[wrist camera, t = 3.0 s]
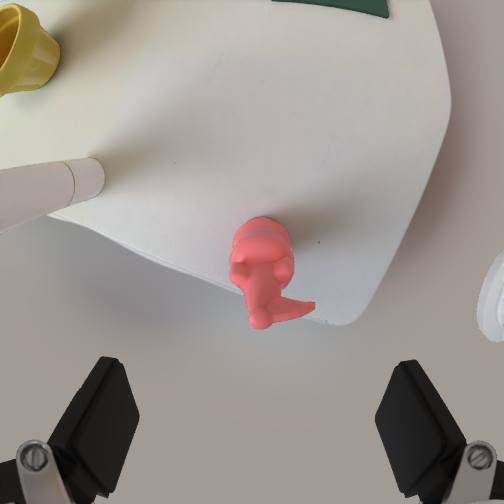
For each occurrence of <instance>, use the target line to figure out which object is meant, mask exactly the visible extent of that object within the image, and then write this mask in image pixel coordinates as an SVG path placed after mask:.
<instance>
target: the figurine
mask: <svg viewBox="0 0 504 504" xmlns="http://www.w3.org/2000/svg"><path fill="white" fill-rule="evenodd" d="M293 274H294V256H293V253H292V251H291V242H290V238H289V235H288V233H287V232H286V230H285V229H284V228H283V227H282V226H281V225H280V224H278V223H277V222H275V221H273V220H271V219H269V218H266V217H256V218H253V219H251V220H250V221H248V222H247V223H245V224H244V225H242V226H241V227H240V228H239V229H238V231H237V232H236V234H235V236H234V239H233V244H232V252H231V255H230V260H229V278H230V280H231V281H232V282H233V283H234V284H235V285H237V286H238V287H239V288H240V289H241V290H242V291H244V297H245V303H246V306H247V309H248V312H249V316H248V321H249V324H250V326H251V327H252V328H254V329H256V330H263V329H266V328H268V327H269V326H271V325H272V323H275V322H281V321H286V320H291V319H295V318H298V317H301V316H304V315H306V314H308V313H309V312H311V311H313V310H314V309H315V302H302V301H297V300H293V299H289V298H285V297H281V291H282V290H283V289H284V288H285V287H286V286H287V285H288V284H289V282H290V280H291V278H292V276H293Z"/></svg>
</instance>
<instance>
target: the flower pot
mask: <svg viewBox="0 0 504 504" xmlns="http://www.w3.org/2000/svg"><path fill="white" fill-rule="evenodd" d="M59 59H60V46H59V44H58V43H57V42H56V41H55V40H54V39H53V38H52V37H51V36H50V35H49V34H48V33H47V32H46V31H45V30H44V29H43V28H42V27H41V26H40V22H39V19H38V17H37V15H36V14H35V13H33V12H32V11H30V10H29V9H27V8H25V7H23V6H20V5H18V4H7V5H5V6H3V7H1V8H0V97H2V96H3V95H5V94H7V93H14V92H21V91H30V90H36V89H38V88H40V87H42V86H43V85H44V84H45V83H47V81H48V80H49V79H50V78H51V77H52V75H53V74H54V72H55V70H56V68H57V66H58V63H59Z"/></svg>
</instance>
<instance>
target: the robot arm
mask: <svg viewBox="0 0 504 504" xmlns="http://www.w3.org/2000/svg"><path fill="white" fill-rule="evenodd" d="M496 318H497V322H498V324H499V325H500V326H501V327H502V328H503V329H504V285H503V287H502V289H501V292H500V295H499V298H498V302H497V308H496ZM138 422H139V411H138V409H137V406H136V403H135V400H134V397H133V394H132V391H131V388H130V385H129V382H128V378H127V375H126V372H125V369H124V366H123V364H122V363H120V362H119V360H118V359H116V358H111V357H104V356H102V357H100V359H99V360H98V362H97V363H96V365H95V366H94V368H93V369H92V371H91V372H90V374H89V376H88V377H87V379H86V380H85V382H84V384H83V385H82V387H81V388H80V389H79V390H78V391H77V393H76V395H75V396H74V397H73V399H72V401H71V402H70V404H69V406H68V407H67V409H66V411H65V413H64V414H63V416H62V418H61V419H60V421H59V423H58V424H57V426H56V428H55V429H54V431H53V433H52V435H51V436H50V438H49V440H48V442H47V444H46V443H45V442H42V441H40V440H29V441H27V442H25V443H23V444H22V445H21V446H20V447H19V449H18V450H17V454H16V459H13V460H10V461H6V462H2V463H0V504H95V503H94V500H95V497H96V495H99V496H102V497H105V498H108V496H109V493H113V492H114V490H115V488H116V485H117V482H118V479H119V476H120V473H121V470H122V467H123V464H124V461H125V458H126V456H127V453H128V450H129V447H130V444H131V442H132V439H133V436H134V433H135V431H136V428H137V425H138ZM375 423H376V426H377V429H378V431H379V434H380V437H381V439H382V442H383V445H384V448H385V450H386V453H387V456H388V459H389V462H390V464H391V468H392V470H393V473H394V476H395V479H396V482H397V485H398V488H399V491H400V492H401V493H404V495H405V498H409V497H412V496H415V495H418V496H419V498H420V502H419V504H504V462H502V461H499V460H497V454H496V451H495V449H494V448H493V446H491V445H490V444H489V443H487V442H484V441H474V442H472V443H470V444H468V445H467V443H466V439H465V437H464V435H463V434H462V432H461V430H460V428H459V427H458V425H457V423H456V422H455V420H454V418H453V416H452V415H451V413H450V411H449V410H448V408H447V407H446V405H445V403H444V402H443V400H442V398H441V397H440V395H439V394H438V392H437V390H436V389H435V387H434V386H433V384H432V383H431V381H430V379H429V378H428V376H427V375H426V373H425V372H424V370H423V369H422V367H421V366H420V364H419V363H418V361H417V360H408V361H401V362H400V363H399V365H398V366H396V367H395V368H394V371H393V373H392V376H391V379H390V381H389V384H388V386H387V389H386V391H385V394H384V396H383V399H382V401H381V403H380V406H379V408H378V410H377V413H376V415H375Z"/></svg>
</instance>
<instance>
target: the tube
mask: <svg viewBox="0 0 504 504" xmlns="http://www.w3.org/2000/svg"><path fill="white" fill-rule="evenodd" d="M104 183H105V173H104V169H103V167H102V165H101V164H100V163H99V162H98V161H97V160H95V159H93V158H83V159H73V160H64V161H55V162H48V163H40V164H33V165H27V166H20V167H14V168H9V169H3V170H0V233H3V232H5V231H7V230H10V229H12V228H14V227H17V226H19V225H21V224H23V223H26V222H29V221H31V220H34V219H36V218H38V217H41V216H44V215H46V214H49V213H52V212H54V211H57V210H60V209H62V208H65V207H68V206H71V205H73V204H76V203H79V202H82V201H85V200H88V199H91V198H94V197H96V196H97V195H98V194H99V193H100V192H101V191H102V189H103V186H104Z"/></svg>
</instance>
